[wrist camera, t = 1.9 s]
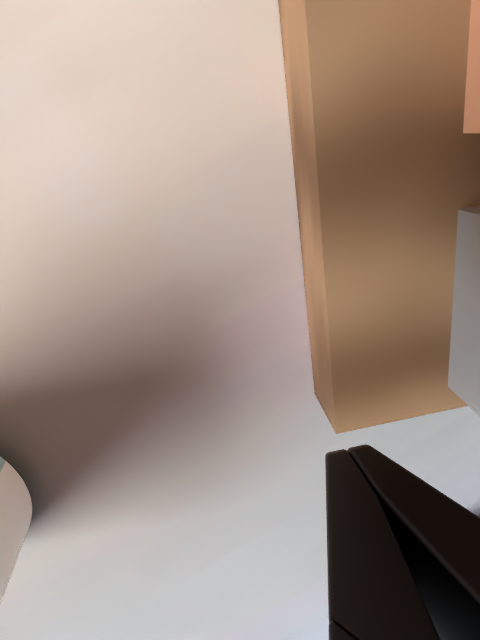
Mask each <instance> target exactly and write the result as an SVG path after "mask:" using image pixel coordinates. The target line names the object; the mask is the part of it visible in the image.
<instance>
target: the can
mask: <svg viewBox="0 0 480 640" xmlns="http://www.w3.org/2000/svg"><path fill="white" fill-rule="evenodd" d="M31 517H32V502H31V498H30V494H29V491H28V489H27V486H26V485H25V483H24V481H23V479H22V478H21V477H20V475H19V474H18V473H17V471H16V470H15V469H14V468H13V467H12V466H11V465H10V464H9V463H8V462H7V461H5V460H4V459H3V458H2V457H0V603H1V601H2V598H3V595H4V593H5V590H6V587H7V585H8V582H9V579H10V576H11V574H12V571H13V568H14V566H15V563H16V560H17V558H18V555H19V552H20V550H21V547H22V544H23V542H24V539H25V536H26V534H27V531H28V528H29V525H30V522H31Z"/></svg>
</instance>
